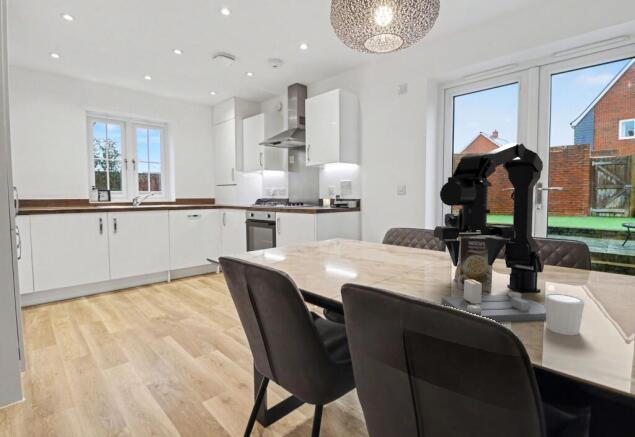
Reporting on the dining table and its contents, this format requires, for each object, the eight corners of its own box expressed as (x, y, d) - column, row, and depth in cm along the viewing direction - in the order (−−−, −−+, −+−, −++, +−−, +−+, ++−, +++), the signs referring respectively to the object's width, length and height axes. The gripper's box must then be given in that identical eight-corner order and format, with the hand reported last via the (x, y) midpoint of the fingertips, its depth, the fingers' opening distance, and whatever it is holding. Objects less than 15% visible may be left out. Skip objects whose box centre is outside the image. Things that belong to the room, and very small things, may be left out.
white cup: (535, 324, 74) (537, 293, 74) (564, 322, 75) (565, 292, 75) (560, 337, 68) (562, 303, 67) (591, 335, 68) (593, 302, 68)
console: (518, 299, 91) (519, 287, 91) (559, 318, 77) (560, 304, 77) (441, 302, 89) (441, 289, 89) (469, 322, 76) (469, 307, 75)
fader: (472, 298, 87) (473, 278, 87) (481, 303, 83) (481, 283, 83) (463, 298, 87) (464, 279, 87) (472, 303, 83) (472, 283, 83)
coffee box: (458, 289, 101) (460, 237, 100) (457, 284, 107) (458, 235, 106) (492, 292, 98) (493, 238, 97) (488, 286, 104) (490, 236, 103)
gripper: (490, 203, 92) (488, 258, 93) (425, 204, 91) (424, 260, 92) (517, 204, 81) (515, 267, 82) (444, 205, 80) (442, 269, 81)
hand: (472, 265), depth 84 cm, fingers open, 9 cm apart
